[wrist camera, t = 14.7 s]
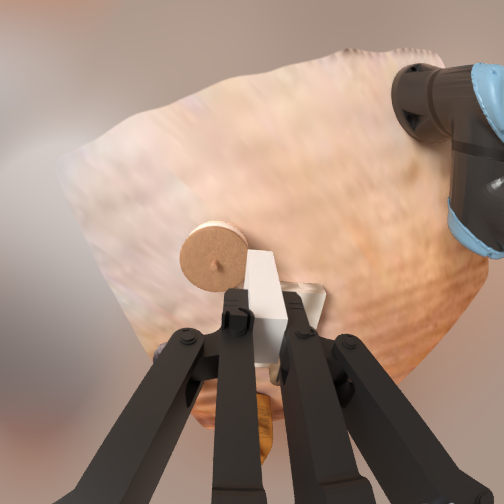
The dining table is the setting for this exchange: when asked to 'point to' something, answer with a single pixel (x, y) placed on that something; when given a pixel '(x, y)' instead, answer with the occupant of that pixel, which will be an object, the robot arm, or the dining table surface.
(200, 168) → the dining table surface
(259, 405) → the coffee package
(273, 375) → the peg
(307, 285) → the board
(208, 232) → the lidded jar
